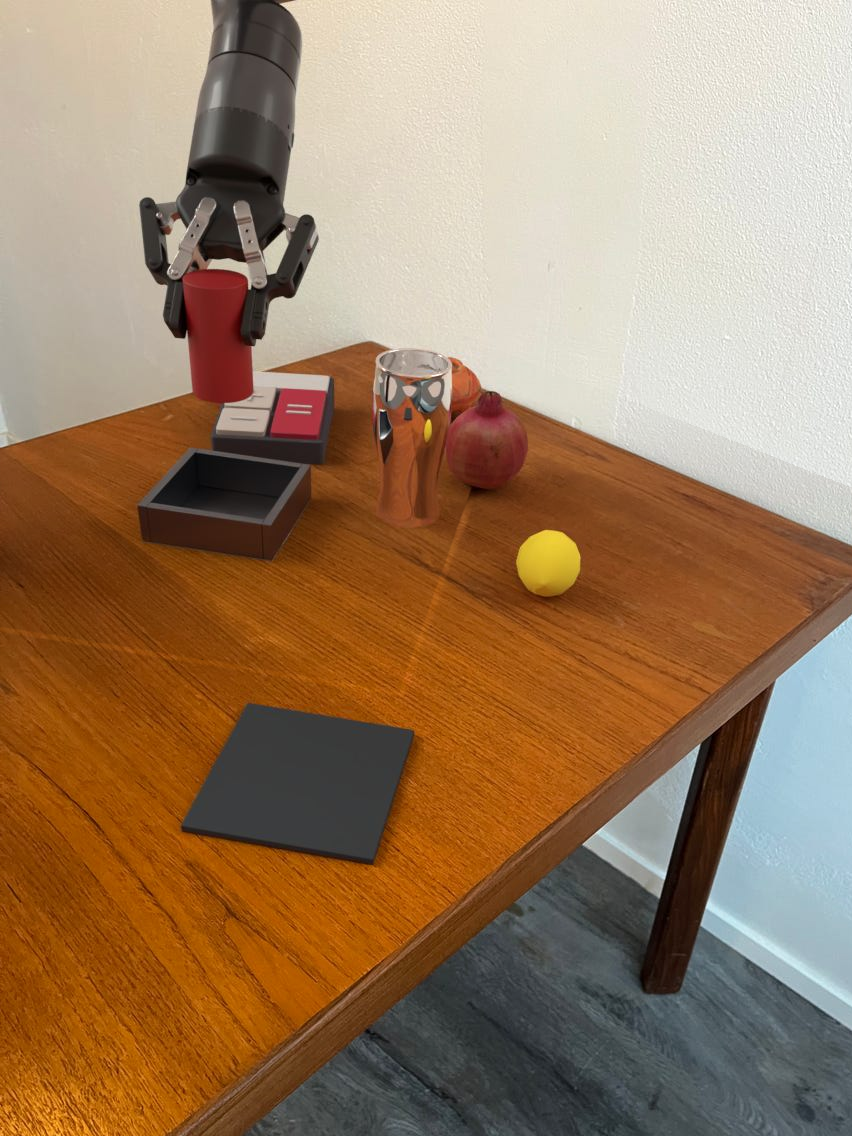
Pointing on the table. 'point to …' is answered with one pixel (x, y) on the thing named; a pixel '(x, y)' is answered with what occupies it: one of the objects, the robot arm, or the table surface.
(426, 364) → the beer glass
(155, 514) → the bin
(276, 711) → the mat
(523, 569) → the lemon
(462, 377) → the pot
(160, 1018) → the table surface
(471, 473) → the fruit
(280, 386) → the calculator
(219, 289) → the canister
